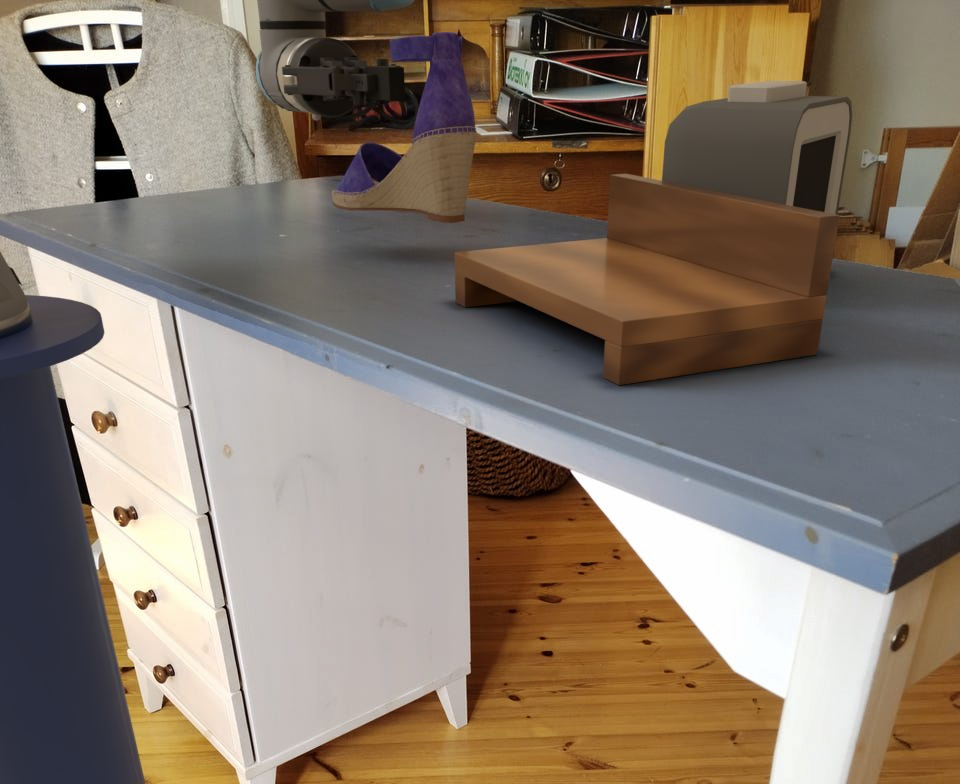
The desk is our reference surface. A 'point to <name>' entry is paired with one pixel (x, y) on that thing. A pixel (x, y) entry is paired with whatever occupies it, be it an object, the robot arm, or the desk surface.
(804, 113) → the alarm clock
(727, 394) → the desk surface
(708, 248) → the shoe rack
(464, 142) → the sandal
